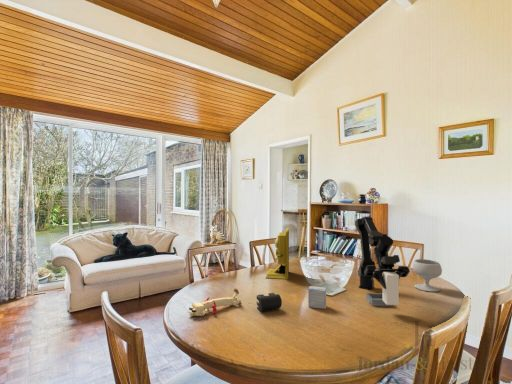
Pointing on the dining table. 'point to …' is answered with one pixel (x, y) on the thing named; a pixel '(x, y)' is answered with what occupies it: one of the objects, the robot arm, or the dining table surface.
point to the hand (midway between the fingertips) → (391, 288)
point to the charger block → (391, 288)
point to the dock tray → (375, 299)
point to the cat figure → (213, 304)
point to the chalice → (427, 273)
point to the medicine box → (317, 297)
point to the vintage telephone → (281, 257)
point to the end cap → (269, 302)
